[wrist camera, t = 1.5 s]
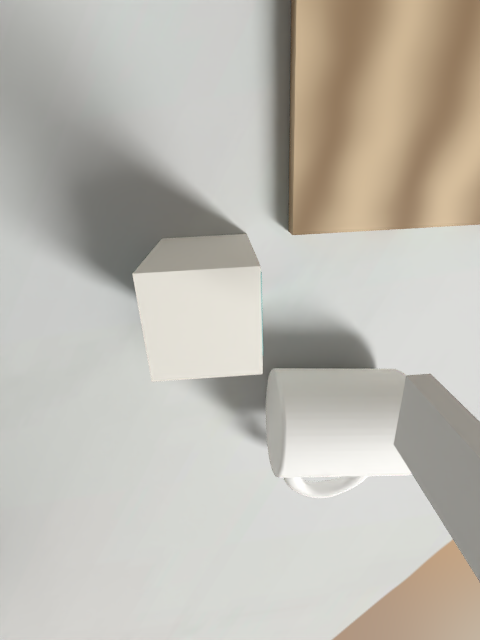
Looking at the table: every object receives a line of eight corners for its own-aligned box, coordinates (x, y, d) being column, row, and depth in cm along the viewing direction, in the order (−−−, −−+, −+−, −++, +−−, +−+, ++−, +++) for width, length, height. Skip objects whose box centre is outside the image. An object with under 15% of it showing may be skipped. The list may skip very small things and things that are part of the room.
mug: (269, 350, 28) (286, 412, 21) (385, 350, 29) (442, 411, 22) (260, 458, 33) (271, 540, 26) (360, 457, 34) (399, 536, 26)
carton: (170, 316, 27) (148, 382, 18) (159, 238, 24) (129, 273, 16) (251, 311, 27) (265, 373, 18) (248, 233, 24) (263, 265, 16)
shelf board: (288, 231, 24) (299, 240, 21) (292, -140, 17) (309, -213, 14) (519, 218, 25) (564, 225, 22) (621, -148, 18) (711, -218, 14)
